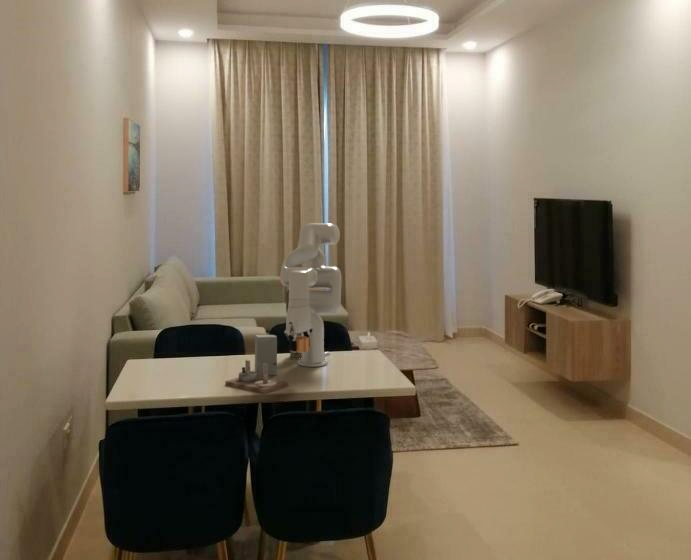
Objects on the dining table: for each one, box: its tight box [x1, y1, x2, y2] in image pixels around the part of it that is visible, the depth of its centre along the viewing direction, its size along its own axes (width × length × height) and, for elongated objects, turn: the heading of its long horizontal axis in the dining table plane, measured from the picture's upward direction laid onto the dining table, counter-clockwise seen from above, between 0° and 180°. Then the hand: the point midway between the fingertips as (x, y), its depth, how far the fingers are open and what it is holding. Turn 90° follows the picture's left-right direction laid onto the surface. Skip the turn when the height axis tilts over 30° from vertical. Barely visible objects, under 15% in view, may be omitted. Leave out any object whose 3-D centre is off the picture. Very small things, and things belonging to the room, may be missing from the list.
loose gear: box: [292, 336, 309, 353], centre depth 262 cm, size 7×7×5 cm
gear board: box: [224, 359, 289, 394], centre depth 260 cm, size 20×13×9 cm, turn 54°
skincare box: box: [254, 334, 278, 377], centre depth 277 cm, size 8×7×16 cm
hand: (299, 348), depth 263 cm, fingers closed on loose gear, 7 cm apart
